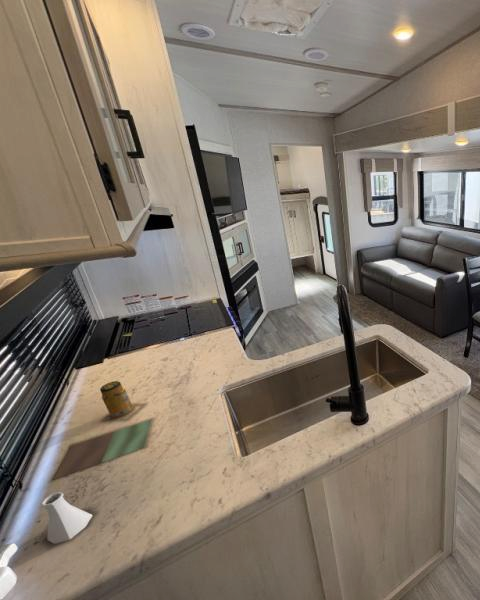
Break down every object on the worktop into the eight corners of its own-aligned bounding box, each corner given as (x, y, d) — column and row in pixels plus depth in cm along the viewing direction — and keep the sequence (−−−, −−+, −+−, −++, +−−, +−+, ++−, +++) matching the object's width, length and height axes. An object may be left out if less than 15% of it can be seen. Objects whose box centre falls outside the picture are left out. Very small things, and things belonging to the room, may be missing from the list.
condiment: (122, 407, 112) (109, 379, 107) (144, 406, 111) (132, 378, 107) (104, 421, 105) (89, 392, 100) (128, 420, 105) (114, 391, 100)
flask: (70, 545, 68) (50, 514, 64) (39, 545, 68) (17, 515, 65) (100, 512, 75) (83, 483, 71) (72, 513, 75) (53, 483, 71)
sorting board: (54, 481, 84) (53, 479, 83) (72, 446, 95) (71, 445, 95) (145, 448, 93) (144, 447, 92) (152, 420, 104) (151, 419, 104)
